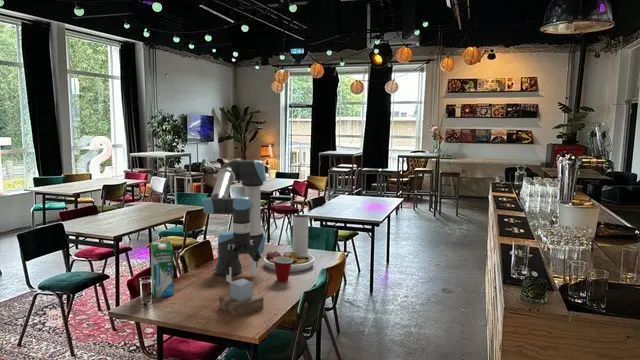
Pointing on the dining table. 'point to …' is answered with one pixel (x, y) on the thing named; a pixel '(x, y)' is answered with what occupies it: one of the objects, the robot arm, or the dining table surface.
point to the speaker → (300, 233)
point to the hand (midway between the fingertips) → (241, 278)
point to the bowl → (299, 259)
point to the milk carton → (162, 269)
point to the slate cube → (241, 289)
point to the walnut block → (240, 304)
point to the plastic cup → (282, 268)
